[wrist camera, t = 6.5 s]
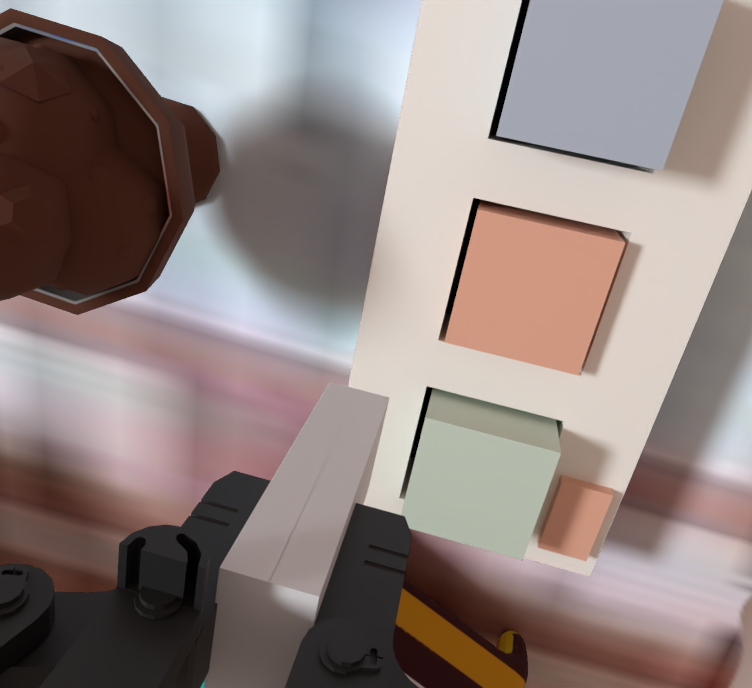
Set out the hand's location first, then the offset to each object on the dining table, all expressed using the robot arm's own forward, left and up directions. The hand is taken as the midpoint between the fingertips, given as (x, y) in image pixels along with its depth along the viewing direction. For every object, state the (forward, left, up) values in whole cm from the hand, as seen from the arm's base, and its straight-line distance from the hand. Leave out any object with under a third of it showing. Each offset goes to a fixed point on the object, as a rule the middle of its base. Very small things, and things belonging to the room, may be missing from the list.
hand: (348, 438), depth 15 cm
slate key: (+10, -5, -16) cm, 19 cm away
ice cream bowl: (+2, +14, -18) cm, 23 cm away
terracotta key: (+1, -5, -18) cm, 18 cm away
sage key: (-8, -5, -16) cm, 18 cm away
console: (+1, -5, -18) cm, 19 cm away
